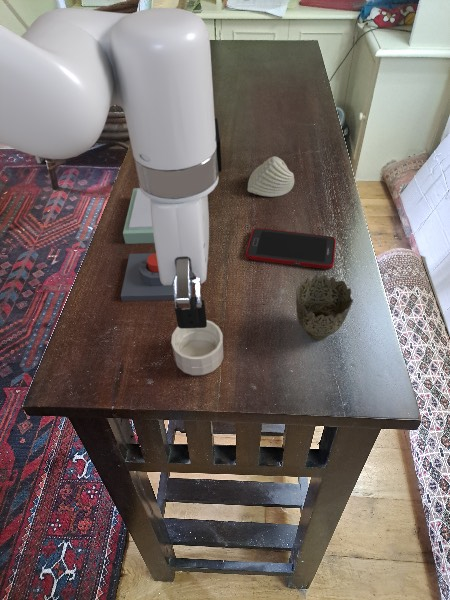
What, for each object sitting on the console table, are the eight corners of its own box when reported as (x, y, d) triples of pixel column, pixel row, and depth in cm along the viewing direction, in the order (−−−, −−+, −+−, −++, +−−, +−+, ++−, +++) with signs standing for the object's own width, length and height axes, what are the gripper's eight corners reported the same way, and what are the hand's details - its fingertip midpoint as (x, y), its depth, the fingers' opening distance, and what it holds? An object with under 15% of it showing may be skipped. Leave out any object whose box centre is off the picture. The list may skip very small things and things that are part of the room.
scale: (125, 244, 81) (122, 230, 79) (135, 198, 91) (132, 185, 89) (204, 242, 81) (202, 228, 79) (205, 196, 90) (205, 183, 88)
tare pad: (121, 301, 71) (118, 287, 69) (130, 258, 78) (127, 245, 76) (192, 299, 71) (190, 286, 69) (194, 257, 78) (193, 243, 76)
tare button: (147, 273, 72) (145, 265, 71) (149, 260, 74) (147, 253, 73) (166, 272, 72) (165, 265, 71) (167, 260, 74) (166, 252, 73)
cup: (290, 312, 69) (295, 273, 63) (340, 313, 68) (349, 274, 63) (292, 351, 64) (297, 314, 58) (346, 353, 63) (356, 315, 58)
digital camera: (194, 149, 104) (191, 119, 98) (218, 147, 104) (217, 117, 99) (195, 173, 96) (193, 142, 91) (221, 171, 97) (220, 140, 91)
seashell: (308, 179, 89) (285, 175, 83) (279, 208, 94) (256, 206, 88) (287, 148, 92) (264, 142, 86) (260, 178, 97) (236, 174, 91)
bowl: (173, 378, 61) (169, 359, 58) (176, 338, 66) (173, 319, 63) (223, 376, 61) (222, 358, 58) (223, 337, 66) (222, 318, 63)
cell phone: (252, 231, 82) (252, 227, 82) (335, 241, 80) (336, 236, 79) (244, 259, 77) (244, 255, 76) (332, 270, 75) (333, 266, 74)
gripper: (147, 125, 48) (169, 249, 61) (123, 226, 37) (156, 354, 49) (218, 122, 48) (225, 247, 61) (217, 222, 36) (226, 352, 49)
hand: (194, 295), depth 55 cm, fingers open, 9 cm apart
